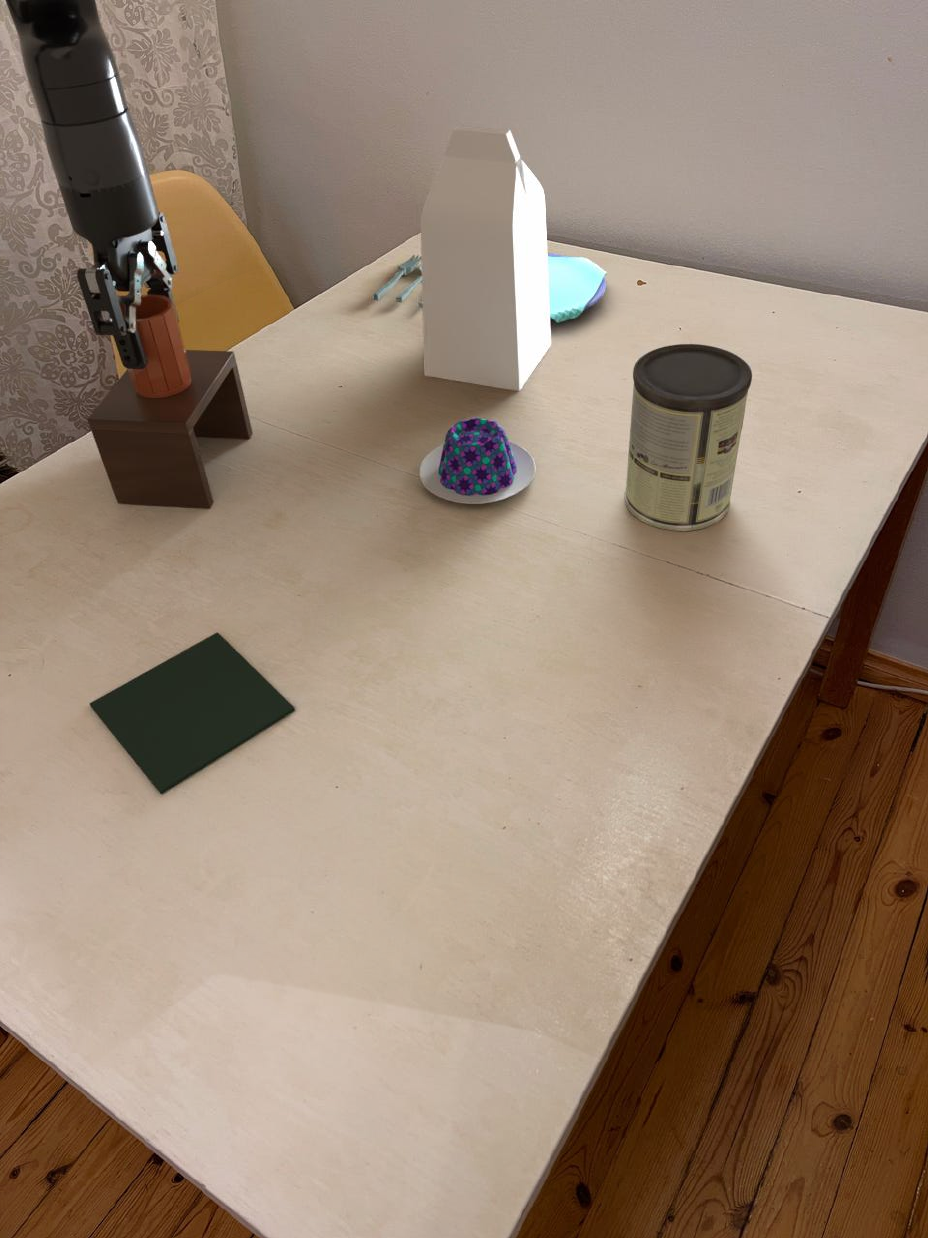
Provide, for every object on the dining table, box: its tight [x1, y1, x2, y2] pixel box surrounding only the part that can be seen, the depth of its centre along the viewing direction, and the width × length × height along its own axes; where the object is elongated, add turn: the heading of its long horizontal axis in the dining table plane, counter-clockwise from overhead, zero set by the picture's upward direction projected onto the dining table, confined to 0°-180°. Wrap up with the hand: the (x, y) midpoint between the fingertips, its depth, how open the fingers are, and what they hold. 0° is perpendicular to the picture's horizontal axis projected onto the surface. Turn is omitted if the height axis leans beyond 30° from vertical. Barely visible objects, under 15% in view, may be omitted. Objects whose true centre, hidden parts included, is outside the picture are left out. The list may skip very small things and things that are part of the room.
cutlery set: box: [372, 252, 608, 323], centre depth 129 cm, size 20×30×2 cm, turn 69°
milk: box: [420, 125, 552, 392], centre depth 108 cm, size 12×12×26 cm
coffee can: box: [624, 343, 753, 532], centre depth 90 cm, size 10×10×14 cm
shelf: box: [86, 349, 254, 510], centre depth 100 cm, size 14×10×10 cm
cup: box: [120, 294, 192, 398], centre depth 94 cm, size 6×6×8 cm
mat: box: [89, 631, 296, 795], centre depth 78 cm, size 12×12×1 cm
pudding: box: [418, 417, 537, 505], centre depth 98 cm, size 12×12×5 cm
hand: (152, 346), depth 93 cm, fingers open, 7 cm apart
